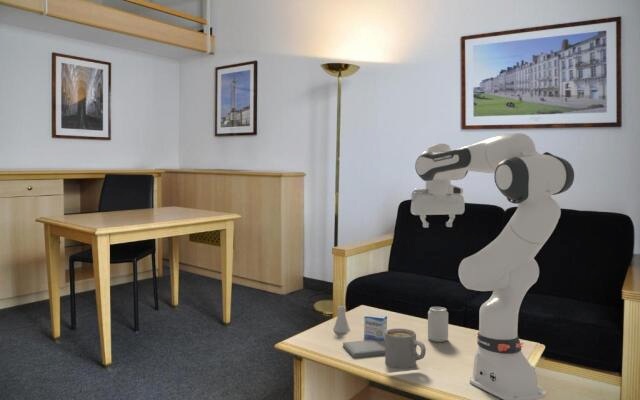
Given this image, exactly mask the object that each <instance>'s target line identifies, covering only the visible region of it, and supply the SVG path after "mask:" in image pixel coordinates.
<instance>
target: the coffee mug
mask: <svg viewBox="0 0 640 400" xmlns="http://www.w3.org/2000/svg"><path fill="white" fill-rule="evenodd" d="M384 342H385V346H384V348H385V355H384V358H385V360H384V361H385V364H386V365H387V366H389V367H390V368H391V367H392V368H396V369H410V368H413V367H415V366H416V364H417V361H419V360H422V359H424V357H425V356H426V352H427V351H426V346H425V344H424V342H422V341H420V340H417V333H416V331H414V330H412V329H408V328H401V327H399V328H391V329H390V328H389V329H387V331H386V333H385V340H384ZM417 346H419V348H420V354H418V351H417Z"/></svg>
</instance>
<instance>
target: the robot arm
mask: <svg viewBox="0 0 640 400" xmlns="http://www.w3.org/2000/svg"><path fill="white" fill-rule="evenodd" d="M414 164H415V166H414V167H415V171H416V174H417V175H418V177H419V178H420V179H421V180H422V181H423V182H425V189H424V188H423V189H419V188H417V189H416V188H415V189H414V190H413V191H412V192H411V195H410V197H411V204H410V213H411V214H412V215H414V216H419V218H420V220H421V222H422V227H423V228H425V229H426V228H429V227H430V226H429V225H430V223H429V222H428V221H427V220H426V219H427V215H428V216H432V215H433V216H436V215H438V216H439V215H443V216H444V215H448V217H449V219H448V221H446V222H445V226H446V227H447V228H452V227H453V222H454V220H455V218H456V215H463V214H464V213H465V211H466V209H465V205H466V204H465V198H464V196H463V194H464V189H463V188H462V187H459V186H456V185H454V184H452V182H451V181H458V180H459V181H460V180H463V179H464V178H465V177H466V176H467V175H468V173H469V172H475V173H482V174H483V173H484V174H485V173H486V174H494V175H493V176H494V183H495V186H496V187H497V189H498V190H499V192H500V193H501V194H502V195H503V196H504V197H506V200H507V202H509V203H511V204H514V205H517V208H516V210H515V212H514V213H513V215H512V216H511V217H510V219H509V221H508V222H507V224H506V225H505V226H504V227H503V229H502V231H501V232H500V234H498V236H496V238H495V239H494V240H492V241H491V242H489V244H487V245H486V246H485V247H483V248H482V249H480V250H479V251H477V252H476V253H474V254H472V255H470V256H467V257H464V258H463V259H462V260H461V261H460V263H459V266H458V277H459V281H460V283H461V284H462V285H463V286H464V287H465V288H466V289H467V290H473V291H478V292H479V291H480V292H488V291H489V292H492V294H491V296H490V297H489V299H488V300H486V301H485V302H483V303H482V304H481V306H480V308H479V316H478V318H479V320H478V321H479V322H478V323H479V324H478V332H477V335H476V336H477V338H476V340H477V341H476V342H477V345H478V347H477V351H475V354H474V360H473V370H472V376H471V377H470V378H469V384H472V385H473V386H475V387H478V388H479V389H482V390H483V391H485V392H488V393H489V394H491V395H494V396H496V397H498V398H500V399H501V400H541V399H543V398H546V397H547V396H548V394H547V391H546V390H545V389H544V388H543V387H541V386H540V385H539V384H538V376H537V371H536V368H535V366H534V365H532V364H531V363H530V362H529V361H528V358H527V357H526V356H525V355H524V353H523V351H522V348H524V346H523V345H524V342H522V343H521V339H520V337H519V335H518V326H519V325H518V324H519V323H518V322H519V313H520V308H521V304H522V302H523V300H524V297H525V295H526V293H527V292H528V291H529V289H531V287H532V286H533V285H534V284H536V283H537V281H538V278H539V276H540V267H539V264H538V262H537V260H535V257H536V256H537V254H538V253H539V252H540V250H541V249H542V247H543V246H544V245H545V244H546V242H547V241H548V240H549V238H550V237H551V235H552V234H553V232H554V230H555V229H556V227H557V225H558V222H559V219H560V218H561V213H562V211H561V207H560V205H559V203H558V202H557V201H556V200H555V199H554V198H553V197H552V195H553V196H555V195H560V194H562V193H565V192H566V191H568V190H569V189H570V188H571V187H572V186H573V183H574V182H575V181H574V180H575V171H574V168H573V166H572V164H571V163H570V162H569V161H568V160H566V159H565V158H563V157H559V156H557V155H554V154H552V153H551V152H548V151H546V152H544V153H539V152H538V151H536V145H535V143H534V140H533V139H532V138H531V137H530V136H529V135H527V134H525V133H521V132H513V133H504V134H500V135H499V134H498V135H497V136H492V137H489V138H487V139H484V140H481V141H478V142H476V143H472V144H469V145H466V146H463V147H459V148H457V149H452V148H451V147H450V145H449V144H446V143H435V144H432V145H430V146H429V147H428V148H427V151H426V150H425V151H423V152H422V153H420V155H419V156H418V157H417V159H416V160H415V163H414Z"/></svg>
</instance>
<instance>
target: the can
mask: <svg viewBox="0 0 640 400" xmlns="http://www.w3.org/2000/svg"><path fill="white" fill-rule="evenodd" d="M447 310H448V309H447V308H445V307H441V306H431V307H430V308H429V310H428V312H427V338H428V339H429V340H430V341H431V342H434V343H444V342H446V341H447V340H449V312H448V311H447Z"/></svg>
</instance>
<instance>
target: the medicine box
mask: <svg viewBox="0 0 640 400" xmlns="http://www.w3.org/2000/svg"><path fill="white" fill-rule="evenodd" d="M363 320H364V321H363V322H364V323H363V327H364V328H363V338H364V339H369V340H375V341H384V342H385V333H386V331H387V330H388V316H387V315H380V314H369V313H367V314H365V315H364V319H363Z"/></svg>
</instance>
